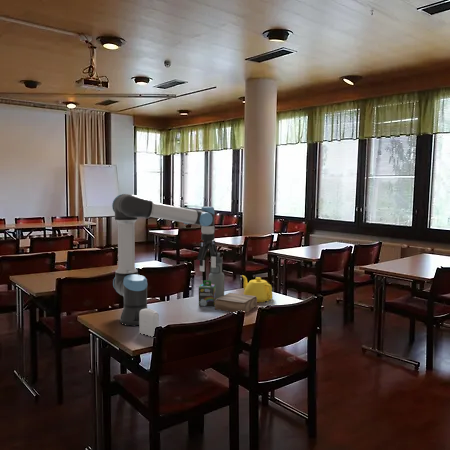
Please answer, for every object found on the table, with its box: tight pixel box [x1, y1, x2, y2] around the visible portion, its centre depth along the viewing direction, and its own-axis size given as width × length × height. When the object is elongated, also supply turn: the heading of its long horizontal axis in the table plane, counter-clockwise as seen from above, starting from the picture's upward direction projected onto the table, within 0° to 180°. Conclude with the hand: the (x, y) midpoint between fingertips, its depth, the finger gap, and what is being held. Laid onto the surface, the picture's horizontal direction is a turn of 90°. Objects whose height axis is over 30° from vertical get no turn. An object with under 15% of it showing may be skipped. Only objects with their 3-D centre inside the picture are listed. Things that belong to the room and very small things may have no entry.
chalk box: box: [198, 279, 216, 308], centre depth 269 cm, size 9×9×15 cm
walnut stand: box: [214, 292, 258, 313], centre depth 263 cm, size 18×18×6 cm
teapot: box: [241, 274, 274, 303], centre depth 284 cm, size 25×18×14 cm
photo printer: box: [138, 307, 160, 338], centre depth 214 cm, size 10×4×12 cm, turn 54°
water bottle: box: [208, 252, 225, 299], centre depth 285 cm, size 10×10×28 cm
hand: (207, 269), depth 268 cm, fingers open, 13 cm apart
